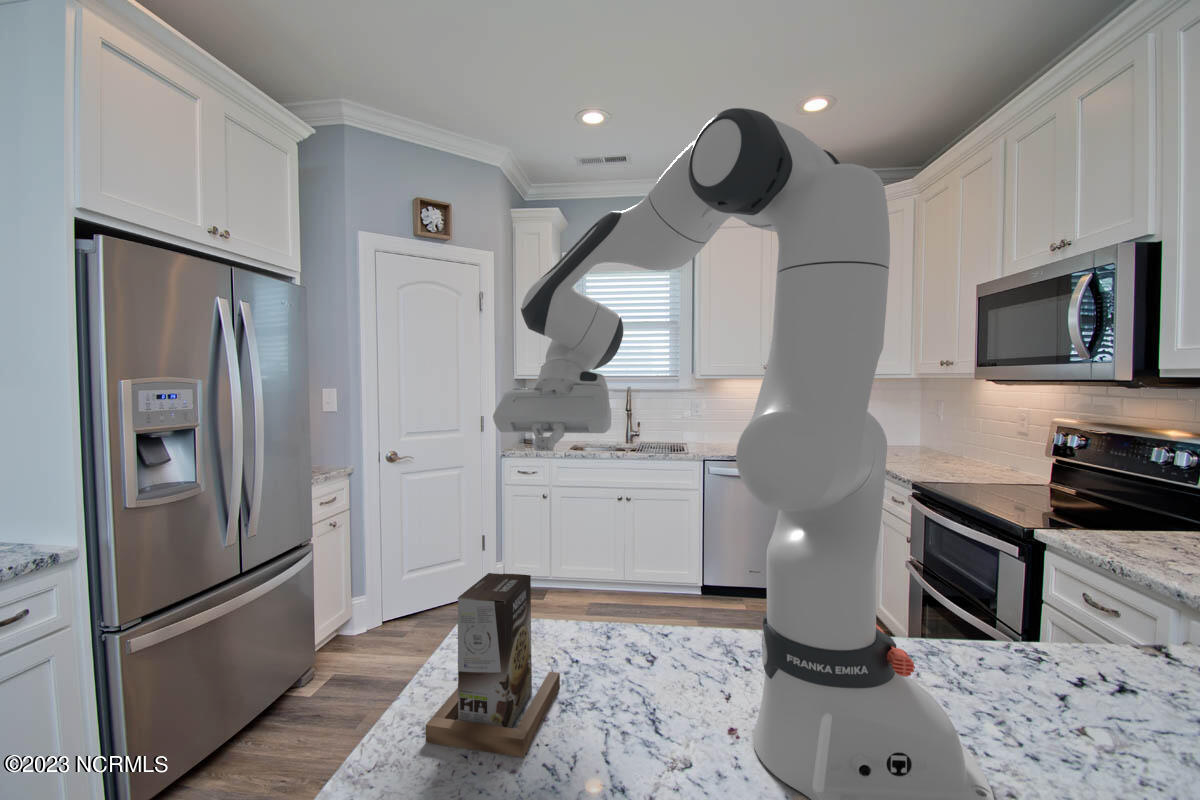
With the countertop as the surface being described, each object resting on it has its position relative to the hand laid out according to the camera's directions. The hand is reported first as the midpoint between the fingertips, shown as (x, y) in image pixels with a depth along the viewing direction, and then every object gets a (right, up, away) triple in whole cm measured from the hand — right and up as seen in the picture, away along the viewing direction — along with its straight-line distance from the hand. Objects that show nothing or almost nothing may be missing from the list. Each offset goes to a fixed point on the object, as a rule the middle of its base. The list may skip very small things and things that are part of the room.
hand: (542, 448), depth 80 cm
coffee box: (-4, -32, -17) cm, 36 cm away
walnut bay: (-3, -32, -17) cm, 36 cm away
